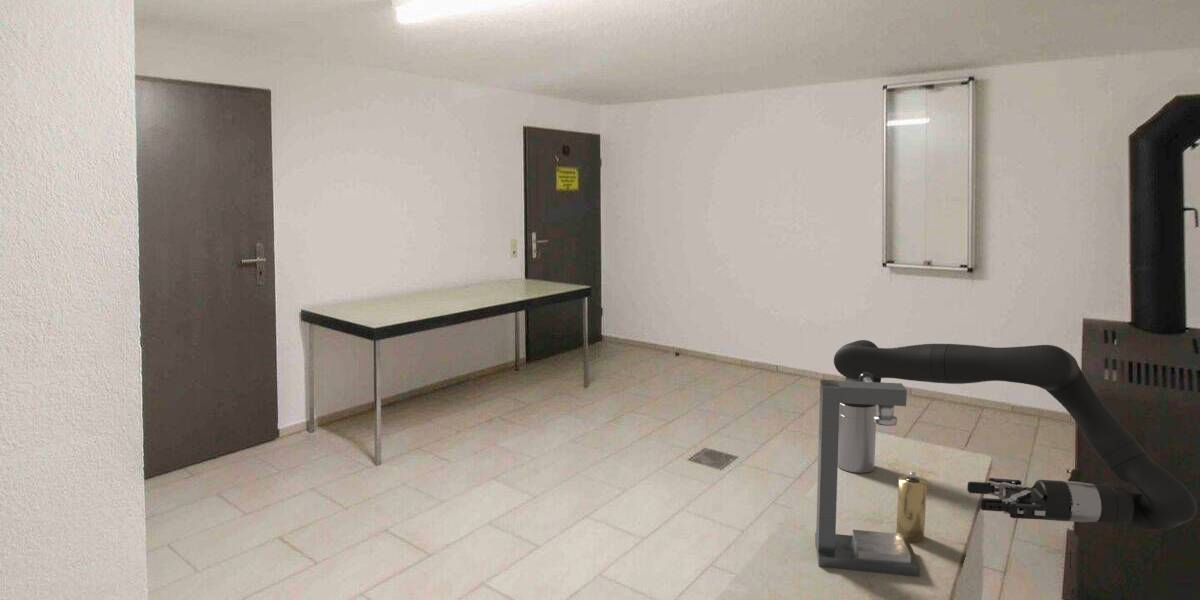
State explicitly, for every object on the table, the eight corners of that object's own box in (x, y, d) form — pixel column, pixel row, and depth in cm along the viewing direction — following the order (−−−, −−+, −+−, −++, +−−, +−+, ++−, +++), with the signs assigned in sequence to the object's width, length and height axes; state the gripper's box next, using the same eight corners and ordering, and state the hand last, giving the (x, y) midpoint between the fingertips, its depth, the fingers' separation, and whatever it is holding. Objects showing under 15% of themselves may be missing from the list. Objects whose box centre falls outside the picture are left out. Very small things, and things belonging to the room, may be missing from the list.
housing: (890, 532, 142) (893, 469, 140) (911, 529, 143) (914, 466, 142) (908, 544, 137) (911, 478, 135) (929, 540, 138) (933, 475, 137)
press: (900, 532, 142) (907, 371, 138) (919, 576, 125) (928, 394, 121) (812, 524, 146) (816, 368, 142) (818, 566, 129) (823, 389, 125)
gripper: (1052, 469, 139) (964, 464, 143) (1084, 496, 125) (985, 490, 129) (1050, 504, 140) (963, 499, 143) (1081, 536, 126) (984, 529, 130)
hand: (974, 495), depth 136 cm, fingers open, 8 cm apart
